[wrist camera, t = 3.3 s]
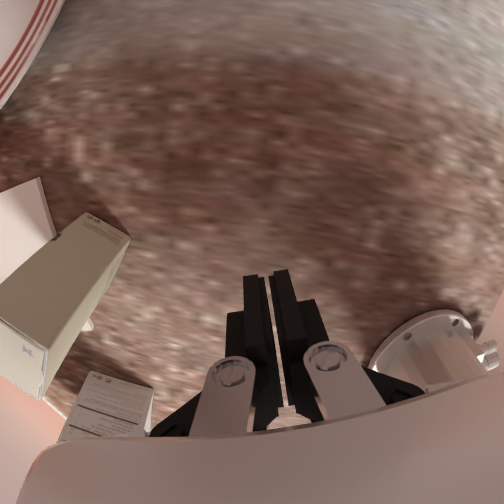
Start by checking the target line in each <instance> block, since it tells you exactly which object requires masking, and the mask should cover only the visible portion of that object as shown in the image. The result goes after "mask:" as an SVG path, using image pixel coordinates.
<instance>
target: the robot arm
mask: <svg viewBox="0 0 504 504" xmlns="http://www.w3.org/2000/svg"><path fill="white" fill-rule="evenodd" d="M273 272H274V275H273V276H268V277H269V283H270V289H271V296H272V302H273V308H274V315H275V321H276V327H277V334H278V340H279V346H280V353H281V359H282V365H283V372H284V378H285V385H286V391H287V397H288V404H289V406H291V405H295V408H296V414H297V413H298V414H300V415H302V416H304V417H306V418H308V422H309V424H303V425H297V426H291V427H284V428H278V429H270V430H269V424H270V423H271V422H272V421H273V420H274V419H275V418H276V417H278V416H279V415H278V407H284V405H283V398H282V391H281V384H280V377H279V370H278V363H277V355H276V348H275V341H274V335H273V329H272V323H271V317H270V311H269V305H268V299H267V293H266V287H265V281H264V277H260V278H258V274H255V275H249V276H243V290H244V311H238V312H231V313H228V314H227V327H226V348H225V358H223V359H220V360H219V361H217V362H215V363H214V364H213V365H212V366H211V367H210V369H209V371H208V373H207V376H206V379H205V383H204V386H203V389H202V391H201V392H200V393H199V394H197V395H196V396H195V397H194V398H192V399H191V400H190V401H188V402H187V403H186V404H184V405H183V406H182V407H180V408H179V409H178V410H176V411H175V412H174V413H172V414H171V415H170V416H168V417H167V418H166V419H164V420H163V421H161V422H160V423H159V424H157V425H156V426H155V427H154V428H153V429H152V431H151V432H146V431H145V429H144V430H139V431H133V432H127V433H121V434H115V435H108V436H101V437H86V438H78V439H71V440H67V441H63V442H59V443H57V444H54V445H52V446H49V447H47V448H46V449H44V450H43V451H42V452H41V453H40V454H39V455H38V457H37V458H36V460H35V461H34V462H33V464H32V466H31V468H30V470H29V472H28V474H27V476H26V478H25V481H24V483H23V485H22V488H21V491H20V494H19V496H18V499H17V502H16V504H504V372H500V373H493V374H489V373H488V372H487V371H489V370H491V369H493V368H495V367H497V366H498V365H499V361H500V360H499V355H498V354H497V352H495V351H496V350H497V343H496V341H495V340H490V341H488V342H485V343H483V344H482V345H479V344H477V343H476V342H475V341H474V340H473V330H472V327H471V325H470V323H469V322H468V321H467V319H466V318H465V317H464V316H463V315H462V314H461V313H458V312H456V311H454V310H448V309H442V310H434V311H430V312H427V313H424V314H422V315H419V316H417V317H415V318H413V319H411V320H410V321H408V322H406V323H405V324H403V325H402V326H400V327H399V328H398V329H396V330H395V331H394V332H393V333H392V334H391V335H390V336H388V337H387V338H386V339H385V340H384V341H383V343H382V344H381V345H380V346H379V348H378V349H377V350H376V352H375V353H374V355H373V356H372V358H371V360H370V362H369V365H368V368H366V367H363V366H361V365H360V364H359V362H358V361H357V359H356V358H355V356H354V355H353V353H352V352H351V350H350V349H349V348H348V347H347V346H346V345H344V344H342V343H339V342H335V341H329V338H328V335H327V332H326V330H325V327H324V324H323V321H322V318H321V316H320V313H319V310H318V307H317V305H316V302H315V300H314V299H311V300H305V301H300V302H297V300H296V296H295V293H294V289H293V286H292V282H291V279H290V275H289V272H288V269H286V270H280V271H273Z"/></svg>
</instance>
